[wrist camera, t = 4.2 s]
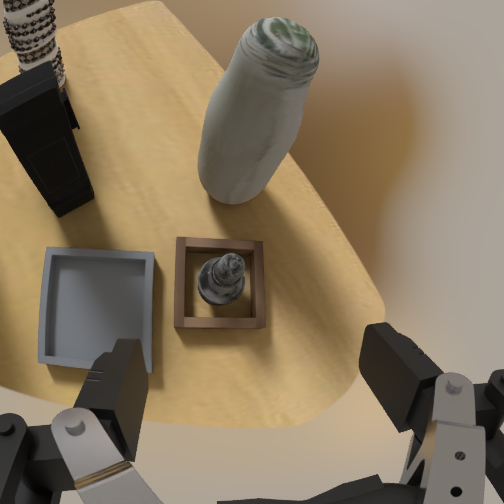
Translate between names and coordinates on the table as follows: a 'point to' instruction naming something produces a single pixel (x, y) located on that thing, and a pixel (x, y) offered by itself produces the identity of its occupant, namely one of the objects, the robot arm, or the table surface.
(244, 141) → the glass bottle
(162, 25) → the table surface
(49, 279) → the grey tray
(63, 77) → the decorative candle
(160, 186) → the table surface
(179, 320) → the walnut collar
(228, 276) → the dark grey chess piece
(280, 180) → the table surface
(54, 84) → the portable radio
